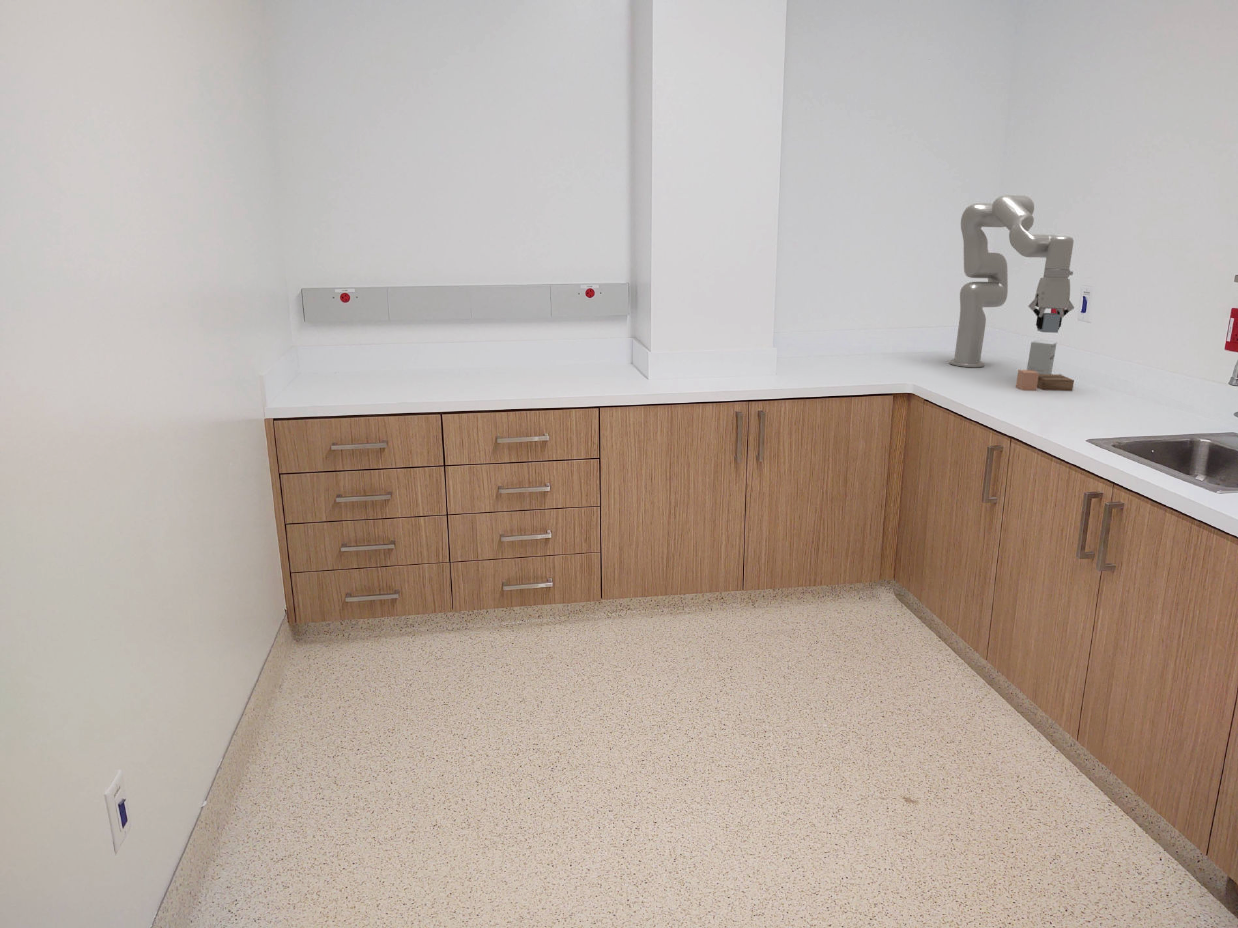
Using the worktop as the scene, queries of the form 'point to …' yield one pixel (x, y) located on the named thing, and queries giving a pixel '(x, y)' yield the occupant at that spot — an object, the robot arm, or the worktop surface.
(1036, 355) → the supplement box
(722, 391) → the worktop surface
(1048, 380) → the walnut base
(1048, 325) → the grey block
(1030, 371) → the terracotta block
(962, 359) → the robot arm
